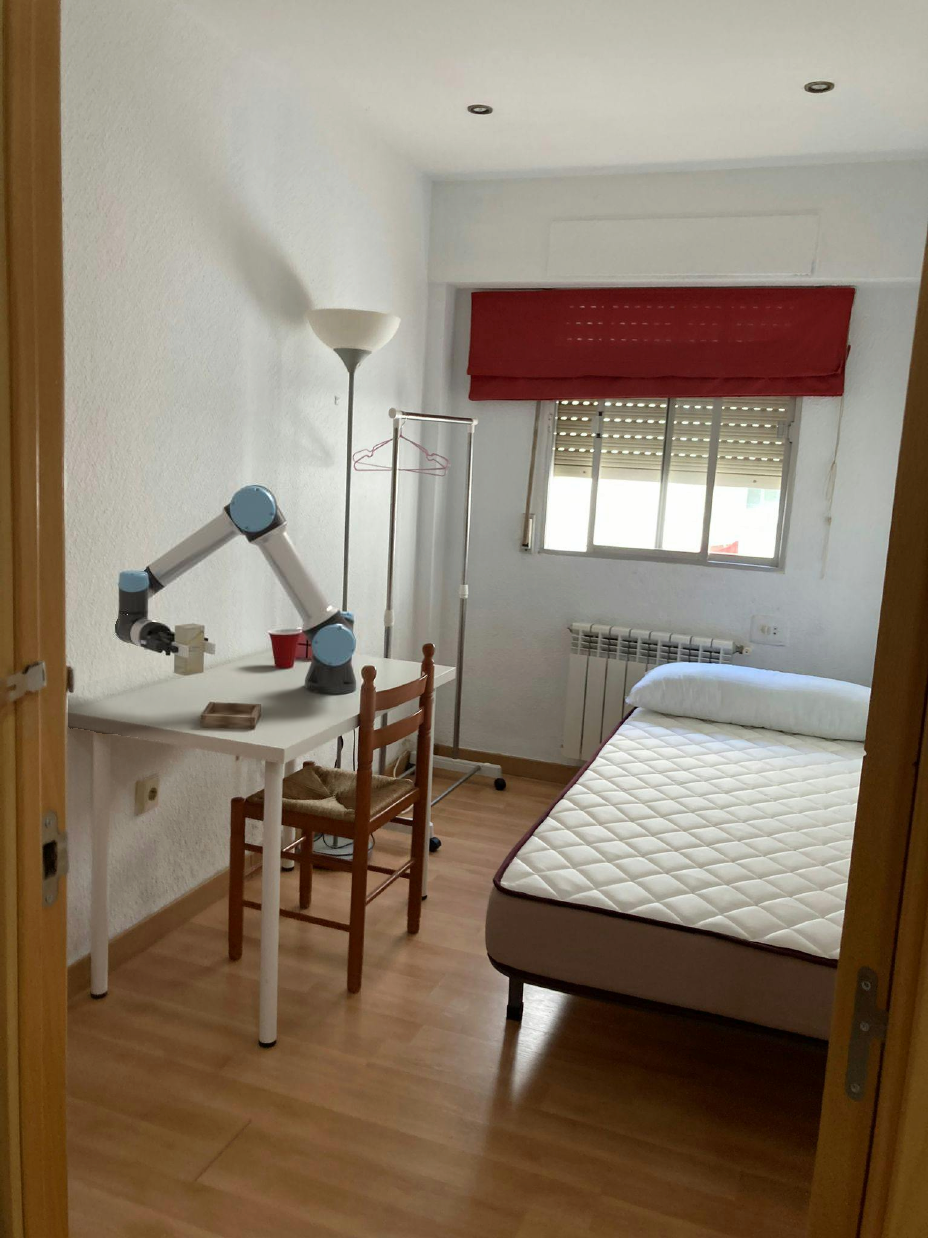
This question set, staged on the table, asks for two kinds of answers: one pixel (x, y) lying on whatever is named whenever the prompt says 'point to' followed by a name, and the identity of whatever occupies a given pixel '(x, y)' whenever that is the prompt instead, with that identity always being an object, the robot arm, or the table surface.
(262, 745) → the table surface
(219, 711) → the tray
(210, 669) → the table surface
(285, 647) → the plastic cup
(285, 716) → the table surface
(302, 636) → the puzzle cube
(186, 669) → the skincare box
